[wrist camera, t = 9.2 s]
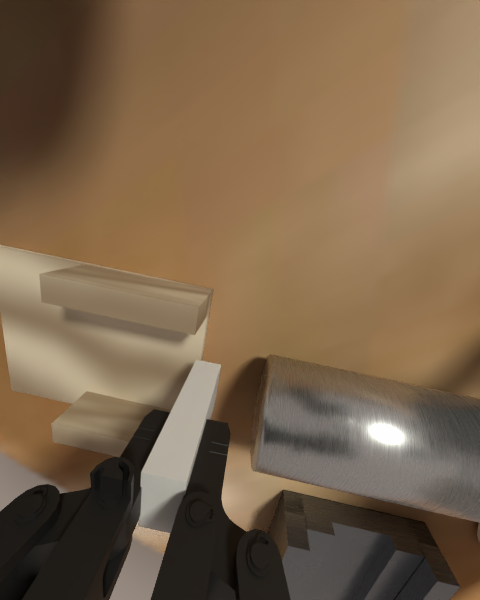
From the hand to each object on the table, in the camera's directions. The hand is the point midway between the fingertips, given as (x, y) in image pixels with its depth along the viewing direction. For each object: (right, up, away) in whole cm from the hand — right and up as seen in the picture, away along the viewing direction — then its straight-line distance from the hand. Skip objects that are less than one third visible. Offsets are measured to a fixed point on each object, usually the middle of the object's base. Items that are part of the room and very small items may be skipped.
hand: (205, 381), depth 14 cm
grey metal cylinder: (+9, -2, +2) cm, 10 cm away
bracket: (-7, +2, +2) cm, 8 cm away
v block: (+10, -18, +7) cm, 22 cm away
